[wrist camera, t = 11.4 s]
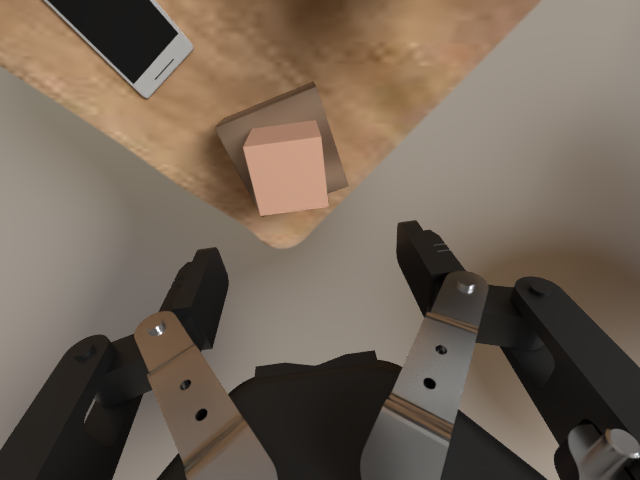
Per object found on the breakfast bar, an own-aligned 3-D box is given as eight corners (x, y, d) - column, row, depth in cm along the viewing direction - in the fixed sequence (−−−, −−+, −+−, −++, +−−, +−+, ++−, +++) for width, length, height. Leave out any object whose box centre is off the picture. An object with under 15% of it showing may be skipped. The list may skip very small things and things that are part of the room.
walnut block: (224, 117, 32) (214, 128, 27) (313, 81, 30) (316, 86, 26) (265, 198, 37) (262, 217, 33) (341, 169, 36) (348, 186, 31)
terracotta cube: (251, 128, 28) (242, 147, 23) (315, 120, 28) (321, 136, 23) (265, 188, 31) (260, 215, 26) (322, 180, 31) (328, 206, 26)
